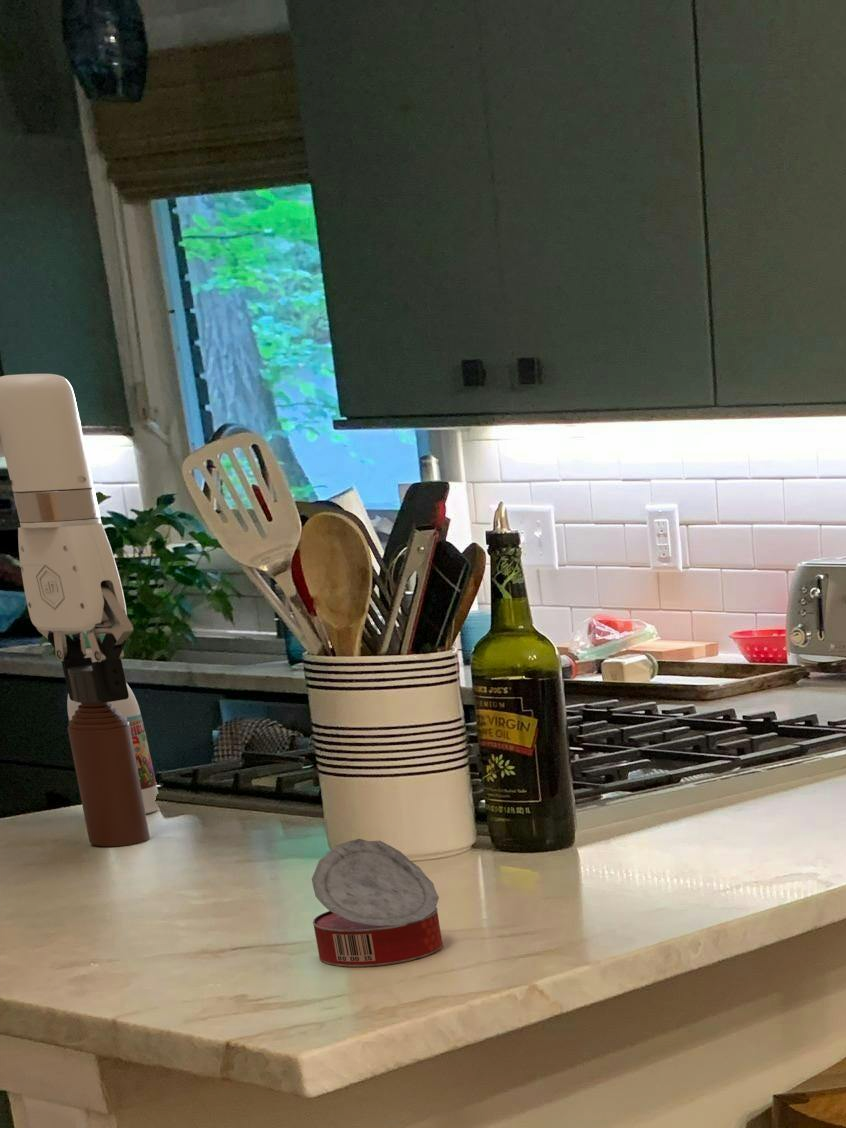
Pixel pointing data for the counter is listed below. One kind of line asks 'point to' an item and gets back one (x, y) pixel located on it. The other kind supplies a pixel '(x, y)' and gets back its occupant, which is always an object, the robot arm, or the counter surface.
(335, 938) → the canned food
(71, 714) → the milk bottle
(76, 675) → the cap
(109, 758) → the sauce bottle
